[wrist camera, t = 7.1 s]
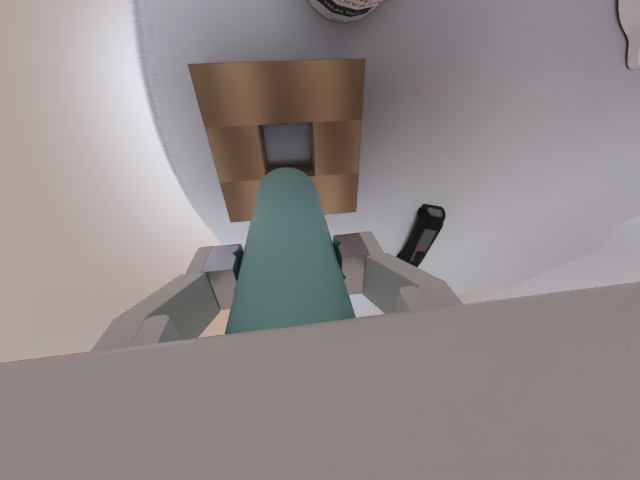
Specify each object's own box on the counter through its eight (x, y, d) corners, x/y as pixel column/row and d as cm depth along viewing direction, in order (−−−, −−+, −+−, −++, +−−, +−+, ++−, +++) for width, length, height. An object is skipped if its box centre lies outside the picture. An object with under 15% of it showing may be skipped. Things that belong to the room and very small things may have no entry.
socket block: (353, 61, 23) (365, 58, 20) (348, 197, 31) (356, 211, 28) (202, 66, 22) (187, 64, 19) (236, 206, 30) (230, 222, 26)
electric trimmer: (379, 284, 41) (386, 298, 38) (419, 202, 33) (431, 213, 30) (399, 285, 42) (407, 300, 39) (443, 206, 34) (456, 217, 31)
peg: (315, 165, 14) (394, 367, 4) (317, 219, 16) (374, 445, 6) (252, 169, 14) (173, 400, 4) (262, 224, 16) (228, 471, 6)
